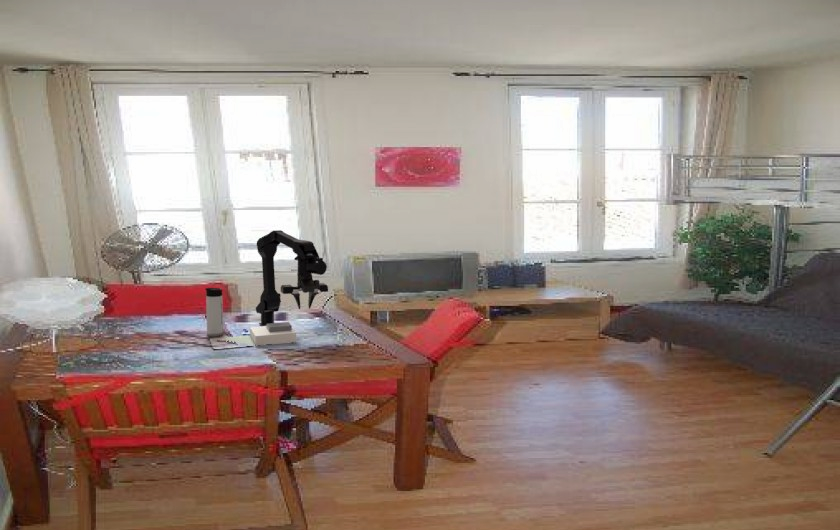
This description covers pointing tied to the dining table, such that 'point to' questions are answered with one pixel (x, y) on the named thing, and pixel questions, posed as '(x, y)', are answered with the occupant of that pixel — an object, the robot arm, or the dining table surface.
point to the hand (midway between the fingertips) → (304, 308)
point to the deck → (271, 336)
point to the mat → (236, 339)
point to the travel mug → (214, 311)
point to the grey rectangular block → (278, 327)
